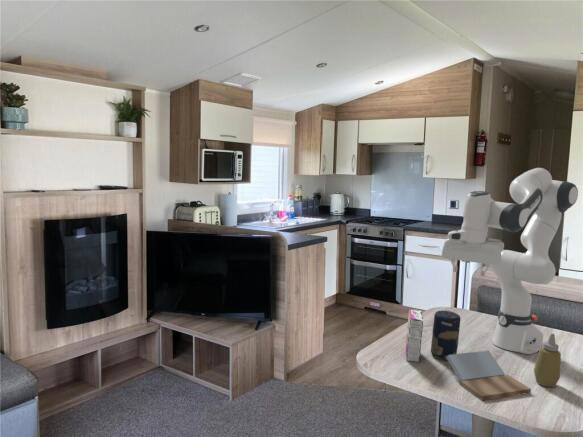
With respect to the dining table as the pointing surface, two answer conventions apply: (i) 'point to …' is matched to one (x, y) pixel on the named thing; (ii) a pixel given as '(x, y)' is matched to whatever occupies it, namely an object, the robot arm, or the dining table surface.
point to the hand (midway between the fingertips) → (468, 273)
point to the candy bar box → (414, 335)
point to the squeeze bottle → (548, 363)
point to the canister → (445, 334)
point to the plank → (474, 365)
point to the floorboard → (495, 387)
